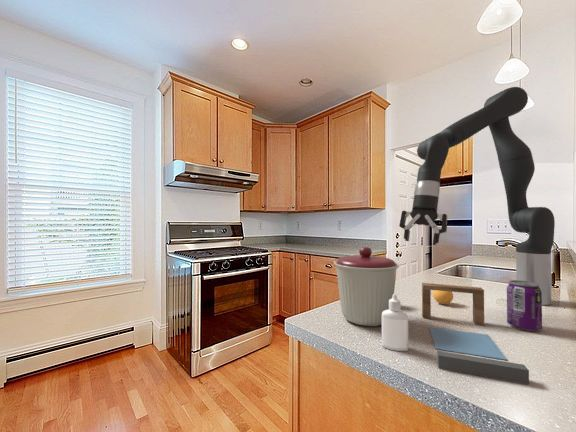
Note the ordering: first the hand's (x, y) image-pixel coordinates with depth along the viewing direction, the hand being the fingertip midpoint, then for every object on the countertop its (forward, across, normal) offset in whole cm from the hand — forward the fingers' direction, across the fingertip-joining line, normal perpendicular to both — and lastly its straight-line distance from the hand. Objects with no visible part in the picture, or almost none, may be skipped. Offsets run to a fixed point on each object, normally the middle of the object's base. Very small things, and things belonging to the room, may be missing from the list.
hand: (420, 242), depth 91 cm
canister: (+24, +8, +22) cm, 33 cm away
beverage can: (+19, -28, +2) cm, 34 cm away
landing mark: (+22, -16, +22) cm, 35 cm away
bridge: (+21, -12, +7) cm, 25 cm away
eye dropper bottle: (+24, -4, +34) cm, 42 cm away
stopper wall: (+22, -19, +35) cm, 46 cm away
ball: (+17, -8, -8) cm, 20 cm away
